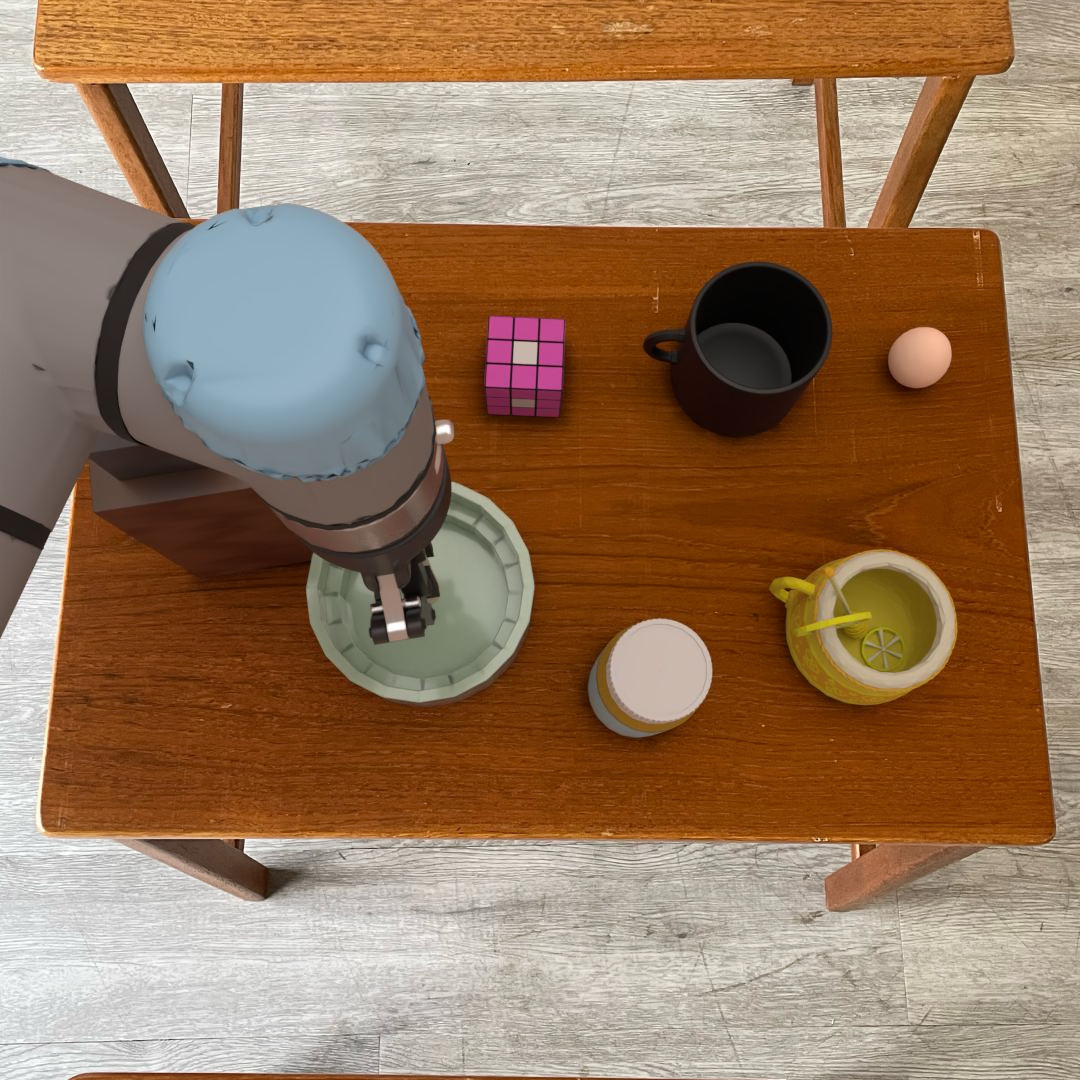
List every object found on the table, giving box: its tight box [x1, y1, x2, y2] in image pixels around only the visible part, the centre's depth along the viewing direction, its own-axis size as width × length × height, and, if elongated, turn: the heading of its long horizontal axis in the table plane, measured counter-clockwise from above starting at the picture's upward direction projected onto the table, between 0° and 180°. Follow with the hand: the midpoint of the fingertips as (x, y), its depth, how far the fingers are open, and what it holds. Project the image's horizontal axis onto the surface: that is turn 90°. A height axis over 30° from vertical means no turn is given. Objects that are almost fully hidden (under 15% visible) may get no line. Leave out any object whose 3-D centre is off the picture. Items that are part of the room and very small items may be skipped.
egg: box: [887, 326, 953, 389], centre depth 79 cm, size 4×4×6 cm
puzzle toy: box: [483, 315, 566, 418], centre depth 79 cm, size 6×6×6 cm
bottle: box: [587, 617, 714, 739], centre depth 69 cm, size 7×7×15 cm
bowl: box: [305, 481, 536, 708], centre depth 74 cm, size 16×16×6 cm
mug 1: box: [642, 261, 834, 437], centre depth 77 cm, size 10×13×10 cm
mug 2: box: [768, 548, 959, 706], centre depth 72 cm, size 13×11×12 cm
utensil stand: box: [87, 432, 313, 579], centre depth 66 cm, size 9×9×25 cm
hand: (415, 574), depth 67 cm, fingers closed on stirring stick, 2 cm apart
